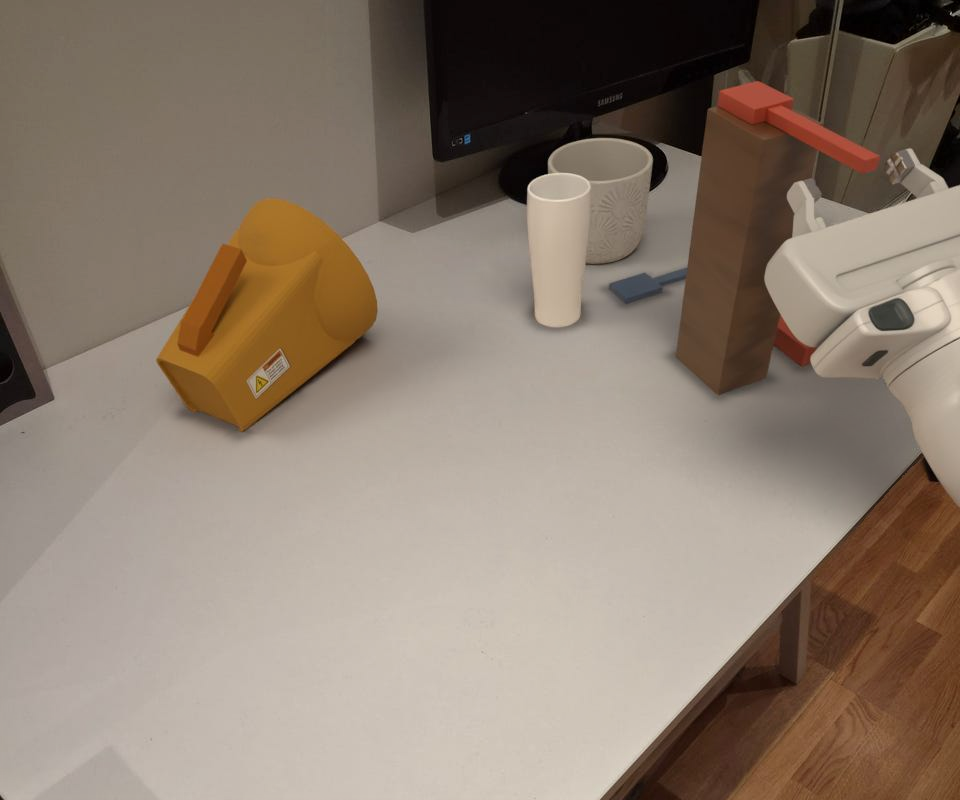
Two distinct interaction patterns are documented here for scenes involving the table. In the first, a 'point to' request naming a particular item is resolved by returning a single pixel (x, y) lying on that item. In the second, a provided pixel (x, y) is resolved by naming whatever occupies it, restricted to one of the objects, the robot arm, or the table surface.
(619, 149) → the planter
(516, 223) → the table surface
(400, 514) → the table surface
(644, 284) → the blue spoon
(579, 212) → the drinking glass
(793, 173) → the stand
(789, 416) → the table surface
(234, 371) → the flared yellow plastic housing
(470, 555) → the table surface
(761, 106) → the red spoon
